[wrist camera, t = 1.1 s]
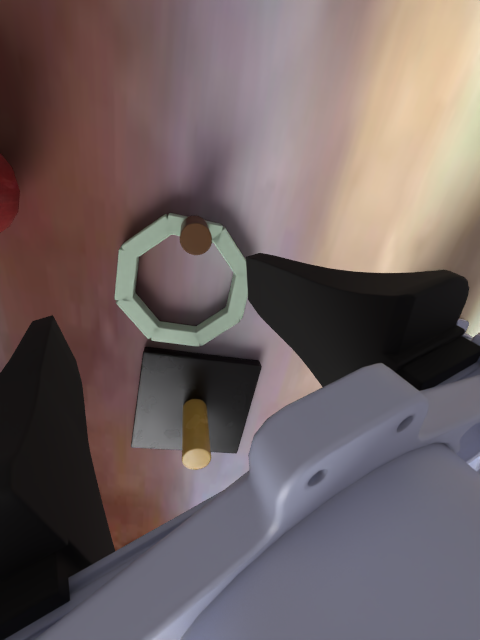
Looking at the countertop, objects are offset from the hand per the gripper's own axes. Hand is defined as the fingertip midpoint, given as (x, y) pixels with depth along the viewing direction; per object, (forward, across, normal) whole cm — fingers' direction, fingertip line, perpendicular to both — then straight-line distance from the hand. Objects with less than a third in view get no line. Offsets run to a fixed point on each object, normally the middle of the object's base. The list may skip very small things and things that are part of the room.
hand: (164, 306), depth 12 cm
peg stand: (+8, -2, +16) cm, 18 cm away
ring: (+10, -4, +5) cm, 12 cm away
